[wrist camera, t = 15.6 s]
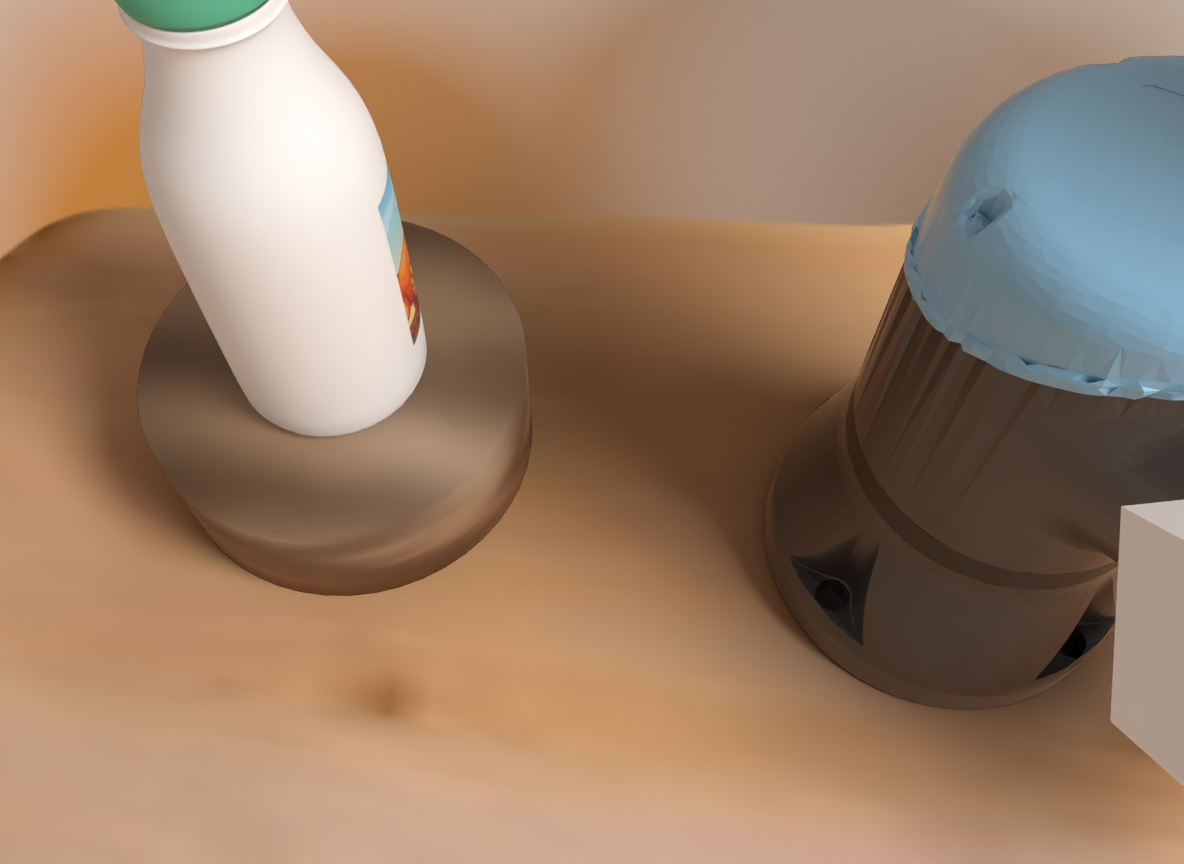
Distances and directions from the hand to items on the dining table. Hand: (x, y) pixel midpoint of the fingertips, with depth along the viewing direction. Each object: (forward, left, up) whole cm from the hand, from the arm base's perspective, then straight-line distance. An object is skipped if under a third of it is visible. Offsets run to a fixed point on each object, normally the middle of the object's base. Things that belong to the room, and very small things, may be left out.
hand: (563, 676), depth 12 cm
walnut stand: (-19, -14, -31) cm, 39 cm away
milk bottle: (-19, -14, -25) cm, 34 cm away
